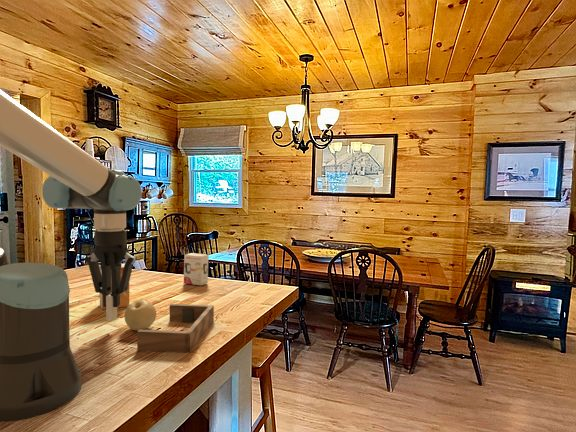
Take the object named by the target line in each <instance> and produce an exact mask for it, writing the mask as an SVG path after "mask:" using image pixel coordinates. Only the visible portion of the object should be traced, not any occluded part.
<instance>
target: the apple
mask: <svg viewBox="0 0 576 432" xmlns="http://www.w3.org/2000/svg"><path fill="white" fill-rule="evenodd" d="M123 318H124V321H125V323H126V325H127V326H128V328H129V329H131V330H133V331H136V332H137V331H138V330H147V329H148V328H150V327H151V326H152V325H153V324H154V323H155V320H156V319H157V309H156V307H155V305H154V304H153V303H152V302H150V301H148V300H145V299H139V300H136V301H134V302H132V303H129V306H126V309H125V311H124V317H123Z"/></svg>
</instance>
